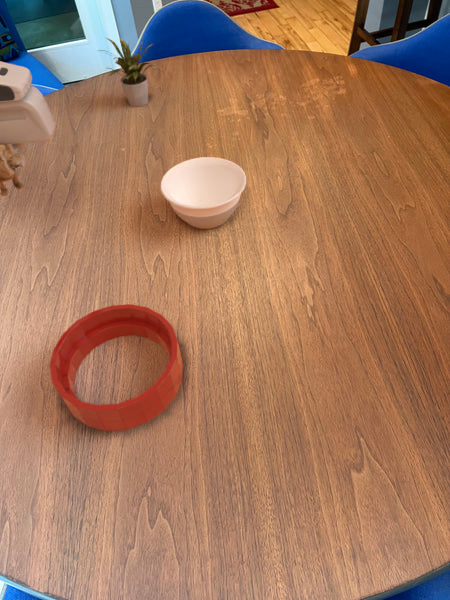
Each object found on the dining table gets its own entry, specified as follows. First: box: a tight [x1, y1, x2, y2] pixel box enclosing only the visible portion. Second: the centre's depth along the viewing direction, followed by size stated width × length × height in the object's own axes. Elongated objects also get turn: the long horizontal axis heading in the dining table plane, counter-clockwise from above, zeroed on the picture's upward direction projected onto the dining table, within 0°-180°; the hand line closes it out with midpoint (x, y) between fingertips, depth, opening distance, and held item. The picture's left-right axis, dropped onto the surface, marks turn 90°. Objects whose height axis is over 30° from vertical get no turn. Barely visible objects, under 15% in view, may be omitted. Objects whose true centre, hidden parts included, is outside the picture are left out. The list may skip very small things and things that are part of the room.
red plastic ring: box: [49, 303, 184, 432], centre depth 69 cm, size 18×18×6 cm
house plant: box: [98, 37, 155, 108], centre depth 123 cm, size 14×14×16 cm
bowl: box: [160, 156, 247, 230], centre depth 91 cm, size 16×16×9 cm
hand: (4, 166), depth 79 cm, fingers closed on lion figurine, 4 cm apart
